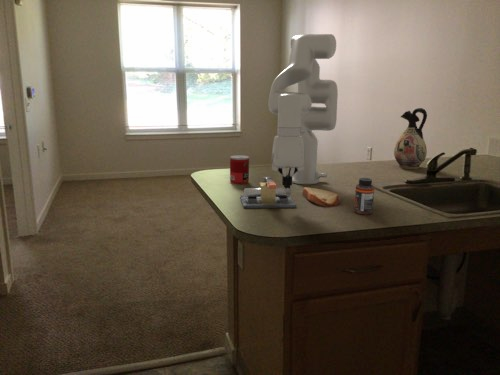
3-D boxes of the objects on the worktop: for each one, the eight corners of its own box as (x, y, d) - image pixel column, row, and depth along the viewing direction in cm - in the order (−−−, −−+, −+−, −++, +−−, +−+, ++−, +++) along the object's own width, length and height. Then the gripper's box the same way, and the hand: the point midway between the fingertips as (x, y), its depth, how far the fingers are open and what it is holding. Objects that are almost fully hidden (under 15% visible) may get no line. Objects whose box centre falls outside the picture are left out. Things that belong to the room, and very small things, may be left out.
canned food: (246, 185, 183) (247, 158, 181) (227, 183, 185) (228, 157, 182) (250, 181, 190) (250, 155, 188) (232, 179, 192) (232, 154, 189)
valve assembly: (288, 196, 165) (288, 176, 163) (296, 207, 152) (297, 185, 150) (239, 197, 163) (240, 177, 161) (243, 208, 150) (243, 186, 148)
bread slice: (305, 191, 176) (306, 182, 175) (350, 198, 166) (350, 188, 166) (285, 201, 161) (285, 191, 160) (332, 209, 152) (333, 198, 151)
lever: (262, 180, 157) (262, 176, 157) (271, 180, 157) (271, 176, 157) (267, 189, 144) (268, 185, 144) (277, 189, 145) (277, 185, 144)
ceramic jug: (388, 168, 223) (393, 107, 216) (397, 163, 235) (403, 106, 228) (423, 172, 214) (430, 109, 207) (431, 167, 226) (438, 107, 219)
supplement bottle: (351, 209, 150) (353, 177, 147) (368, 209, 150) (371, 176, 148) (357, 215, 144) (359, 181, 141) (374, 214, 145) (377, 181, 142)
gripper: (308, 131, 149) (306, 184, 153) (264, 131, 147) (263, 185, 151) (314, 133, 141) (311, 189, 146) (267, 133, 140) (266, 190, 144)
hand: (286, 187), depth 148 cm, fingers closed
